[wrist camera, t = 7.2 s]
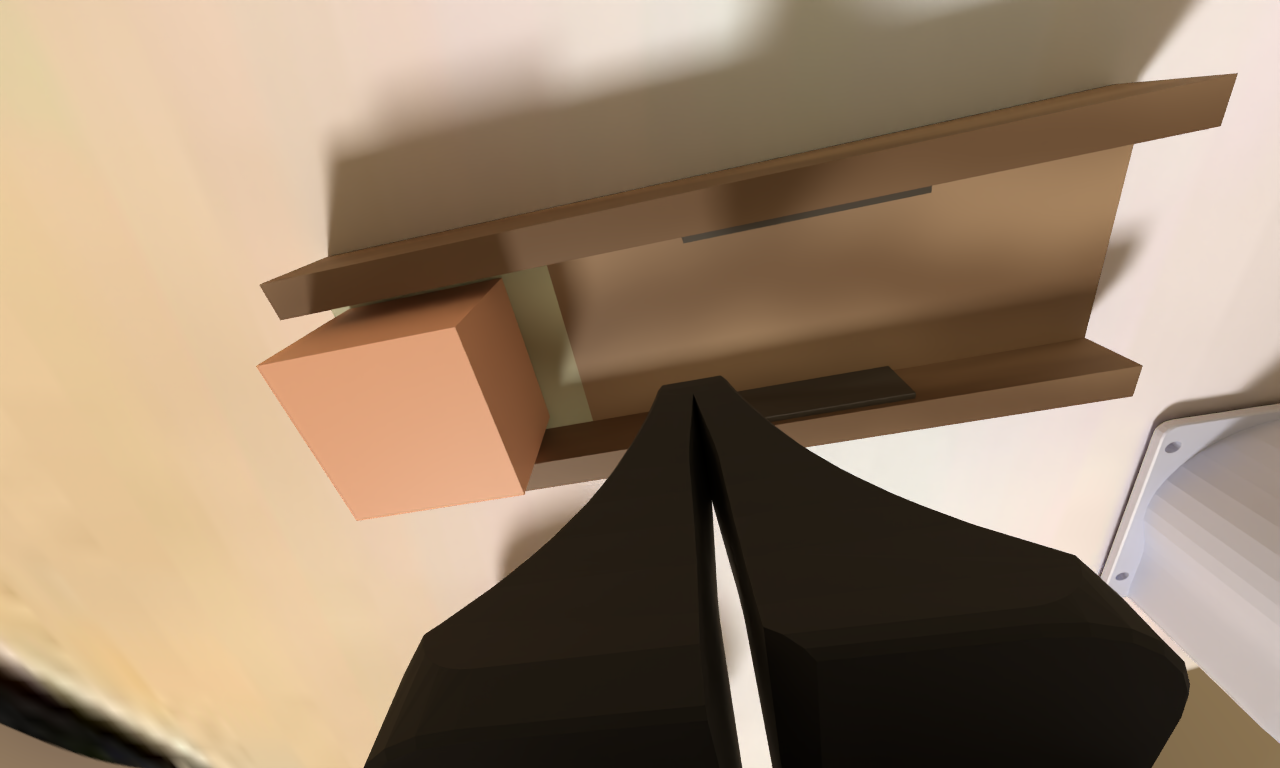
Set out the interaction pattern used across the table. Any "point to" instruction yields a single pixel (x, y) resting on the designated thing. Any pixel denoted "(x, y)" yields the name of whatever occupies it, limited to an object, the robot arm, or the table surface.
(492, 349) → the block
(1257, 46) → the table surface
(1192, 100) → the chute
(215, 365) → the table surface
